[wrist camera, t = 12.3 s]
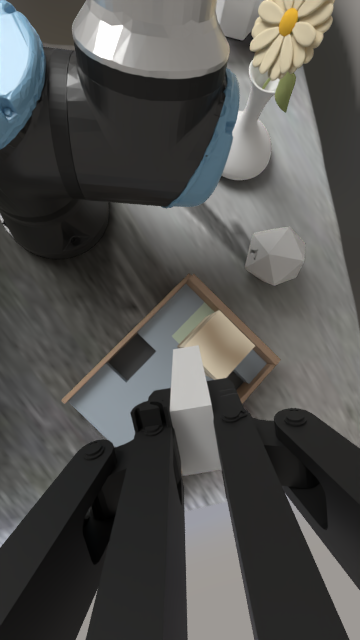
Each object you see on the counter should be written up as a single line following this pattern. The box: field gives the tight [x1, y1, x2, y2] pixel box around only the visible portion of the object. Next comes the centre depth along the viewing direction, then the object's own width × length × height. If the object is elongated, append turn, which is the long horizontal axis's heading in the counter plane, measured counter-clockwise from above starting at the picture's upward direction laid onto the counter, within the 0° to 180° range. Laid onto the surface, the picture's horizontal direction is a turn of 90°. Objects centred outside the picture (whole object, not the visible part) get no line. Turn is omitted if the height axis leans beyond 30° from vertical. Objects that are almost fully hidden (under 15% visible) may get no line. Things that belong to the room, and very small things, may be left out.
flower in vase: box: [221, 0, 335, 180], centre depth 34 cm, size 13×11×25 cm
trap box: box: [62, 274, 281, 473], centre depth 39 cm, size 24×18×6 cm
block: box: [177, 310, 255, 380], centre depth 36 cm, size 6×6×8 cm
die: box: [245, 227, 306, 286], centre depth 41 cm, size 8×9×10 cm
